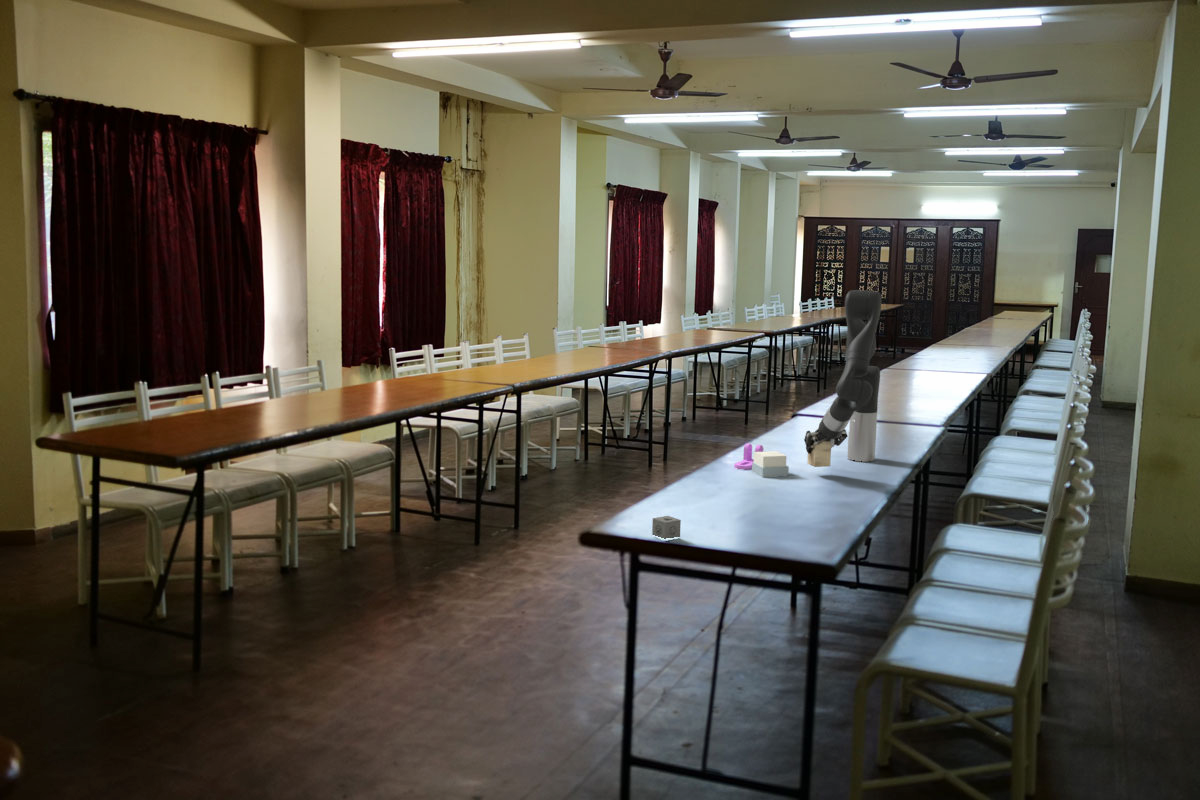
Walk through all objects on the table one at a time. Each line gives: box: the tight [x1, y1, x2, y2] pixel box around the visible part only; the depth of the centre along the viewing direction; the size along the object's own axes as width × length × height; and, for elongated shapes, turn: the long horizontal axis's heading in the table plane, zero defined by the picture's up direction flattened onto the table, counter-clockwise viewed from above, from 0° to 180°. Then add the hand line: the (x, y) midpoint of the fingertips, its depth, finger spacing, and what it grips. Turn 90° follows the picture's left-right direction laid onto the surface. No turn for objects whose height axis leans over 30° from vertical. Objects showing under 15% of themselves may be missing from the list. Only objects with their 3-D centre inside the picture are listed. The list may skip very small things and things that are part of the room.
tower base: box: [751, 462, 790, 478], centre depth 344 cm, size 9×9×4 cm
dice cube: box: [651, 515, 682, 539], centre depth 265 cm, size 5×5×5 cm
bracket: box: [733, 443, 764, 470], centre depth 355 cm, size 13×6×7 cm, turn 147°
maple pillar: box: [807, 436, 832, 468], centre depth 341 cm, size 6×6×10 cm
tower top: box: [753, 450, 787, 467], centre depth 343 cm, size 8×8×4 cm
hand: (816, 450), depth 343 cm, fingers closed on maple pillar, 5 cm apart
